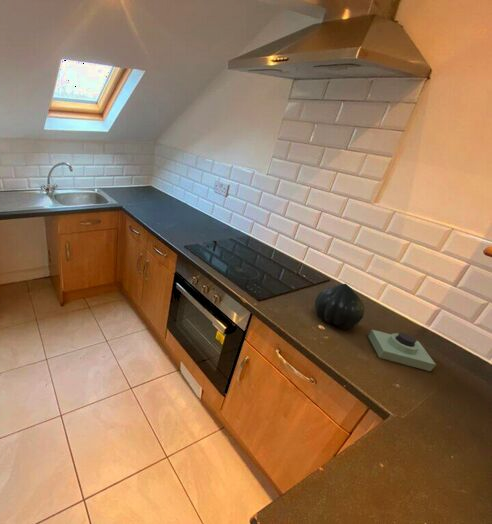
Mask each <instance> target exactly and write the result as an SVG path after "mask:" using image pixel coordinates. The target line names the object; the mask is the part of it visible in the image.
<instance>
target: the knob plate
mask: <svg viewBox="0 0 492 524" xmlns="http://www.w3.org/2000/svg"><path fill="white" fill-rule="evenodd" d="M398 335H399V333H387V332H383V331H380V330H375V329H371V330H370V331H369V333H368V334H367V337H368V339H369V341H370V342H371V345H372V347H373V348H374V350H375V352H376V354H377V356H378V358H380V359H383V360H386V361H391V362H394V363H397V364H401V365H405V366H409V367H413V368H415V369H416V368H417V369H420V370H424V371H427V372H432V370H433V369H435V367H436V366H437V364H436V363H435V361H434V360H433V359H432V357H431V356H430V355H429V353H428V352H427V350H426V349H425V348H424V346H423V345H422V344H421V343H420V341H419V340H416V342H415V344H414V345H413V346H412V347H409V346H406V345H404V344H402V343H400V342H399V341H397V340H396V338H397V336H398Z"/></svg>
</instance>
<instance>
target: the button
mask: <svg viewBox="0 0 492 524" xmlns="http://www.w3.org/2000/svg"><path fill="white" fill-rule="evenodd" d="M398 334H399V335H398V336H397V338H396V340H397V341H399V342H400V343H402V344H404V345H406V346H409V347H412V346H413V345H414V344H415V342H416V341H417V339H416V338H415V337H414V336H412V335H411V334H408V333H406V332H399V333H398Z"/></svg>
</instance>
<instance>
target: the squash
mask: <svg viewBox="0 0 492 524" xmlns="http://www.w3.org/2000/svg"><path fill="white" fill-rule="evenodd" d="M314 308H315V314H316V316H317V317H318V319H320V320H322V321H324V322H326V323H327V324H333V325H335V326H337V327H338V328H341V329H343V330H350V329H352V328H354V327H355V326H356V325H358V324H359V323H360V321H362V319H363V318H364V315H365V312H366V311H365V304H364V302H363V301H362V299H361V298H360V297H359V296H358V294H357V293H356V292H355V291H354V289H352V287H351V286H349V284H347V283H342V284H338V285H334V286H331V287H328V288H325V289H323V290H322V291H320V292H319V293H318V295H317V296H316V297H315V301H314Z"/></svg>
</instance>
